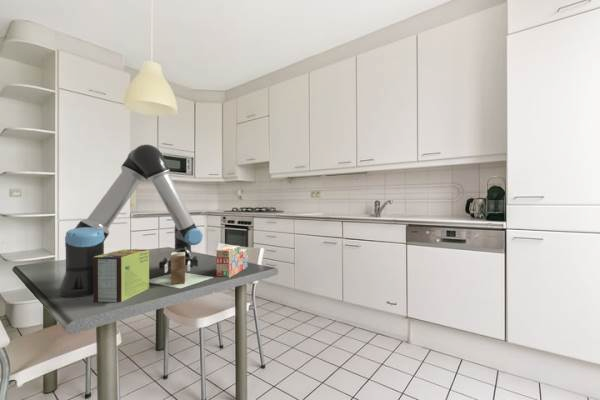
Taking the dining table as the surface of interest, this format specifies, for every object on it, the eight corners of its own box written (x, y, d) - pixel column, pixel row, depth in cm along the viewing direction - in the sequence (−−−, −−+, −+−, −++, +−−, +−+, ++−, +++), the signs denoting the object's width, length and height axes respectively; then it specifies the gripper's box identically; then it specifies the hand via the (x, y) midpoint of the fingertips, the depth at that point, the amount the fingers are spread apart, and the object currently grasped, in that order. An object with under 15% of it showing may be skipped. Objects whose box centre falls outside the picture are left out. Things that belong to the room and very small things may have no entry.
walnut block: (171, 284, 116) (170, 254, 116) (172, 281, 121) (172, 252, 121) (184, 283, 118) (184, 253, 118) (185, 280, 122) (185, 251, 122)
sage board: (142, 282, 122) (142, 281, 122) (178, 273, 138) (178, 271, 138) (180, 289, 112) (180, 288, 112) (214, 278, 128) (214, 277, 128)
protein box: (149, 289, 112) (149, 249, 112) (121, 303, 97) (121, 256, 97) (124, 289, 113) (124, 248, 113) (92, 302, 98) (92, 256, 98)
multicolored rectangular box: (236, 266, 151) (236, 242, 151) (248, 267, 150) (248, 243, 150) (216, 277, 130) (216, 249, 130) (229, 278, 129) (228, 250, 129)
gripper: (204, 264, 140) (204, 275, 118) (157, 267, 133) (148, 280, 111) (204, 248, 140) (204, 257, 118) (157, 250, 133) (148, 260, 111)
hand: (177, 268), depth 115 cm, fingers open, 8 cm apart
